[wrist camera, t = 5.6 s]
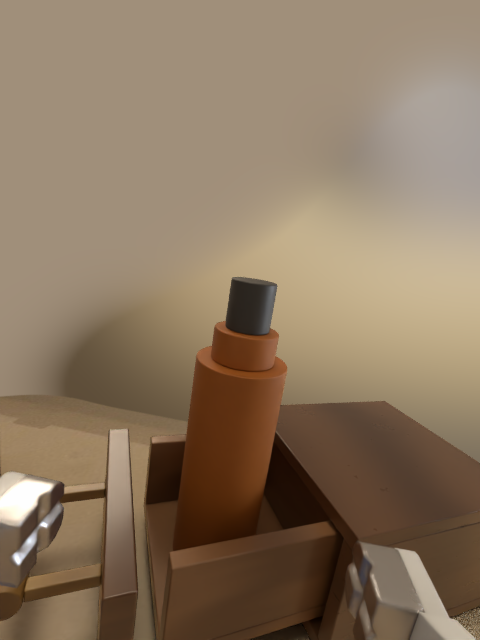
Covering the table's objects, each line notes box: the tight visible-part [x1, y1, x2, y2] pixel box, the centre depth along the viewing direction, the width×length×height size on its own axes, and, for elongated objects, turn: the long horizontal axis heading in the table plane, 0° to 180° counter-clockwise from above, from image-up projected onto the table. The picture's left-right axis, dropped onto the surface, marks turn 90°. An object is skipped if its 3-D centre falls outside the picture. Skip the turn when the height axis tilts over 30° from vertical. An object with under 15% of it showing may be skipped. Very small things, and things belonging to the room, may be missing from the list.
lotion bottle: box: [173, 277, 287, 551], centre depth 17 cm, size 5×5×16 cm
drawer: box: [0, 429, 344, 640], centre depth 18 cm, size 16×10×6 cm, turn 110°
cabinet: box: [274, 401, 480, 640], centre depth 23 cm, size 13×12×8 cm
